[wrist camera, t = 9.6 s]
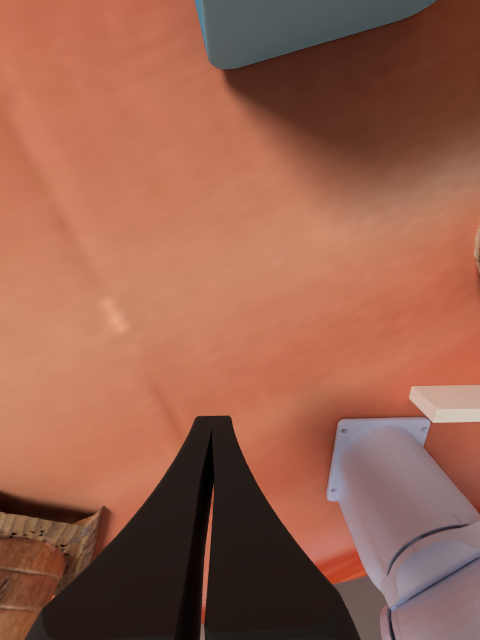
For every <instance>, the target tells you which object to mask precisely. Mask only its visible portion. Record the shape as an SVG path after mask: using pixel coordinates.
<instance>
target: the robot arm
mask: <svg viewBox="0 0 480 640" xmlns="http://www.w3.org/2000/svg"><path fill="white" fill-rule="evenodd" d="M429 427H430V420H429V419H428V418H426V417H404V418H363V419H342V420H340V421H339V422H338V426H337V432H336V438H335V444H334V450H333V456H332V462H331V469H330V475H329V481H328V487H327V493H326V496H327V499H328V500H329V501H338V502H339V505H340V507H341V510H342V513H343V515H344V518H345V520H346V523H347V526H348V528H349V531H350V533H351V536H352V538H353V541H354V544H355V546H356V549H357V551H358V554H359V556H360V559H361V562H362V564H363V566H364V569H365V571H366V573H367V574H368V576H369V577H370V579H371V580H372V582H373V583H374V584H375V585H376V587H377V588H378V589H379V590H380V591H381V592H382V593H383V594H384V597H385V599H386V601H387V605H386V606H385V607H383V609H382V611H381V615H380V616H381V617H380V625H381V636H382V640H480V514H479V513H478V511H477V510H476V509H475V508H474V507H473V506H472V504H471V503H470V502H469V501H468V500H467V498H466V497H465V496H464V495H463V494H462V492H461V491H460V490H459V489H458V488H457V487H456V485H455V484H454V483H453V482H452V481H451V479H450V478H449V477H448V476H447V475H446V474H445V472H444V471H443V470H442V469H441V468H440V466H439V465H438V464H437V463H436V462H435V460H434V459H433V458H432V457H431V456H430V455H429V453H428V452H427V451H426V450H425V449H424V447H423V446H424V443H425V440H426V437H427V433H428V430H429ZM343 429H344V430H343ZM213 483H214V502H213V518H212V533H211V547H210V561H209V574H208V587H207V599H206V612H205V623H204V629H205V640H361V639H360V637H359V634H358V632H357V630H356V627H355V625H354V623H353V620H352V618H351V616H350V614H349V611H348V609H347V607H346V606H345V603H344V601H343V599H342V597H341V595H340V593H339V592H338V591H337V589H336V588H335V587H334V586H333V585H332V584H331V583H330V582H329V581H328V579H327V578H326V577H325V576H324V575H323V574H322V573H321V572H320V570H319V569H318V568H317V567H316V566H315V565H314V563H313V562H312V561H311V560H310V559H309V557H308V556H307V555H306V554H305V552H304V551H303V550H302V549H301V547H300V546H299V545H298V544H297V542H296V541H295V540H294V538H293V537H292V536H291V534H290V533H289V532H288V530H287V529H286V527H285V526H284V525H283V523H282V522H281V521H280V519H279V518H278V516H277V515H276V513H275V512H274V510H273V509H272V507H271V506H270V504H269V503H268V501H267V500H266V498H265V496H264V495H263V493H262V491H261V490H260V488H259V486H258V484H257V482H256V481H255V479H254V477H253V475H252V473H251V471H250V469H249V467H248V465H247V463H246V461H245V458H244V456H243V454H242V451H241V449H240V447H239V444H238V442H237V439H236V436H235V433H234V429H233V425H232V419H231V417H230V416H198V417H196V418H195V420H194V423H193V425H192V428H191V430H190V432H189V434H188V436H187V438H186V440H185V442H184V444H183V446H182V447H181V449H180V451H179V453H178V454H177V456H176V458H175V459H174V461H173V463H172V464H171V466H170V467H169V469H168V470H167V472H166V473H165V475H164V477H163V478H162V480H161V481H160V483H159V484H158V485H157V487H156V488H155V490H154V491H153V492H152V494H151V495H150V496H149V498H148V499H147V500H146V501H145V503H144V504H143V505H142V507H141V508H140V509H139V510H138V511H137V513H136V514H135V515H134V516H133V517H132V519H131V520H130V521H129V522H128V523H127V525H126V526H125V527H124V528H123V529H122V530H121V531H120V533H119V534H118V535H117V536H116V537H115V538H114V539H113V540H112V541H111V542H110V543H109V544H108V545H107V546H106V547H105V549H104V550H103V551H102V552H101V553H100V554H99V555H98V556H97V557H96V558H95V559H94V560H93V561H92V562H91V563H90V564H89V565H88V566H87V567H86V568H85V569H84V570H83V571H82V572H81V573H80V574H79V575H78V576H77V577H76V578H75V579H74V580H72V581H71V582H70V583H69V584H68V585H67V586H66V587H65V588H64V589H63V590H62V591H61V592H60V593H59V594H57V595H56V596H55V597H54V598H53V599H52V600H51V601H50V602H49V603H48V604H47V605H46V606H44V607H43V608H42V610H41V612H40V613H39V615H38V617H37V618H36V620H35V622H34V623H33V625H32V627H31V629H30V630H29V632H28V634H27V636H26V637H25V639H24V640H200V630H201V609H202V589H203V570H204V556H205V546H206V538H207V530H208V522H209V514H210V507H211V499H212V491H213Z"/></svg>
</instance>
